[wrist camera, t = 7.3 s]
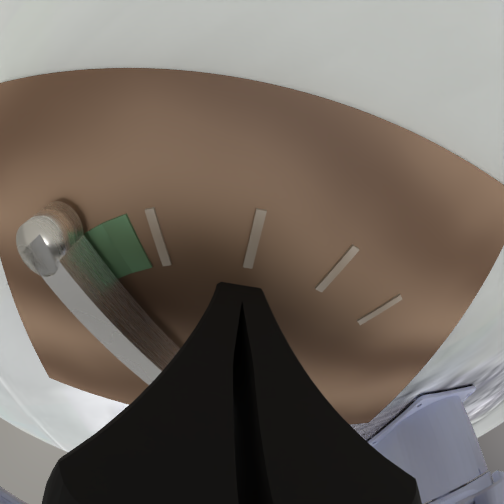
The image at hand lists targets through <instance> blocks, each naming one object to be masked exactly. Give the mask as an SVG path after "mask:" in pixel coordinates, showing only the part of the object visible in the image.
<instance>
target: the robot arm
mask: <svg viewBox="0 0 504 504" xmlns="http://www.w3.org/2000/svg"><path fill="white" fill-rule="evenodd" d="M475 390H476V387H475V386H474V385H473V386H469V387H465V388H460V389H455V390H450V391H445V392H439V393H433V394H427V395H423V396H421V397H419V398H418V399H417V400H416V401H415V402H414V403H413V404H411V405H410V406H409V407H408V408H407V409H406V410H405V411H404V412H403V413H402V414H401V415H399V416H398V417H397V418H396V419H395V420H394V421H392V422H391V423H390V424H389V425H388V426H387V427H385V428H384V429H383V430H382V431H380V432H379V433H378V434H377V435H375V436H374V437H373V438H372V439H370V440H369V441H368V442H367V441H365V440H364V439H363V438H362V437H361V436H360V435H359V434H358V433H357V432H356V431H355V430H354V429H353V428H352V427H351V426H350V425H349V424H348V423H347V422H346V421H345V420H344V419H343V418H342V416H341V415H340V414H339V413H338V412H337V411H336V410H335V409H334V408H333V406H332V405H331V404H330V403H329V402H328V400H327V399H326V398H325V397H324V396H323V394H322V393H321V392H320V390H319V389H318V388H317V386H316V385H315V384H314V382H313V381H312V380H311V378H310V377H309V375H308V374H307V372H306V371H305V370H304V368H303V366H302V365H301V363H300V362H299V360H298V359H297V357H296V355H295V354H294V352H293V350H292V349H291V347H290V345H289V344H288V342H287V340H286V338H285V336H284V334H283V333H282V331H281V329H280V327H279V325H278V323H277V321H276V319H275V317H274V315H273V313H272V311H271V308H270V306H269V304H268V302H267V299H266V297H265V294H264V292H263V290H262V289H261V288H257V287H250V286H244V285H238V284H232V283H226V282H220V283H218V284H217V285H216V289H215V292H214V295H213V297H212V299H211V301H210V303H209V305H208V307H207V309H206V311H205V312H204V314H203V316H202V317H201V319H200V321H199V322H198V324H197V326H196V327H195V329H194V330H193V332H192V333H191V335H190V336H189V337H188V339H187V340H186V342H185V343H184V344H183V346H182V347H181V348H180V350H179V351H178V352H177V354H176V355H175V356H174V358H173V359H172V360H171V361H170V362H169V364H168V365H167V366H166V367H165V368H164V370H163V371H162V372H161V373H160V374H159V375H158V376H157V377H156V379H155V380H154V381H153V382H152V383H151V384H150V385H149V386H148V387H147V388H146V389H145V390H144V391H143V392H142V393H141V394H140V395H139V396H138V397H137V398H136V399H135V400H134V401H133V402H132V403H131V404H130V405H129V406H128V407H126V408H125V409H124V410H123V411H122V412H121V413H119V414H118V415H117V416H116V417H115V418H114V419H112V420H111V421H110V422H109V423H108V424H107V425H105V426H104V427H103V428H102V429H101V430H99V431H98V432H97V433H95V434H94V435H93V436H91V437H90V438H89V439H87V440H86V441H84V442H83V443H81V444H80V445H79V446H77V447H76V448H74V449H73V450H71V451H70V452H68V453H67V454H66V455H64V456H63V457H61V458H60V459H59V460H58V462H57V464H56V465H55V467H54V469H53V470H52V473H51V475H50V477H49V479H48V481H47V484H46V488H45V492H44V496H43V501H42V504H423V503H426V502H428V501H430V500H432V501H431V502H429V503H427V504H504V472H502V471H500V472H499V471H498V470H497V471H495V472H493V473H492V476H493V480H494V483H493V480H492V476H491V473H490V471H488V472H487V473H485V474H484V475H482V476H480V477H478V478H477V479H475V480H473V481H471V482H469V481H470V480H472V479H474V478H476V477H477V476H479V475H481V474H482V473H484V472H485V471H487V470H488V469H487V466H486V462H485V459H484V457H483V454H482V451H481V448H480V445H479V442H478V440H477V437H476V435H475V432H474V429H473V427H472V424H471V422H470V420H469V417H468V415H467V412H466V410H465V408H464V405H463V402H464V401H465V400H466V399H467V398H468V397H469V396H470V395H471V394H472V393H473V392H474V391H475ZM467 482H469V483H468V484H467ZM0 504H27V503H26V502H24V501H22V500H20V499H19V498H17V497H16V496H14V495H12V494H11V493H9V492H8V491H6V490H5V489H3V488H2V487H0Z"/></svg>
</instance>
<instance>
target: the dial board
mask: <svg viewBox="0 0 504 504" xmlns="http://www.w3.org/2000/svg"><path fill="white" fill-rule="evenodd" d="M54 201H61V202H64V203H66V204H68V205H70V206H71V207H72V208H73V209H74V210H75V211H76V212H77V214H78V215H79V217H80V219H81V222H82V225H83V231H84V236H85V237H86V239H87V240H88V241H89V243H90V244H91V245H92V247H93V248H94V250H95V251H96V252H97V254H98V255H99V256H100V257H101V259H102V260H103V261H104V263H105V264H106V265H107V267H108V268H109V269H110V270H111V272H112V273H113V274H114V275H115V277H116V278H117V279H118V280H119V282H120V283H121V284H122V285H123V286H124V288H125V289H126V290H127V291H128V292H129V294H130V295H131V296H132V297H133V298H134V299H135V301H136V302H137V303H138V304H139V305H140V306H141V307H142V309H143V310H144V311H145V312H146V313H147V314H148V315H149V316H150V318H151V319H152V320H153V321H154V322H155V323H156V324H157V325H158V326H159V327H160V328H161V329H162V330H163V332H164V333H165V334H166V335H167V336H168V337H169V338H170V339H171V340H172V341H173V342H174V343H175V344H176V345H177V346H178V347H179V348H181V347H182V346H183V344H184V343H185V342H186V340H187V339H188V337H189V336H190V335H191V333H192V332H193V330H194V329H195V327H196V326H197V324H198V322H199V321H200V319H201V317H202V316H203V314H204V312H205V311H206V309H207V307H208V305H209V303H210V301H211V299H212V297H213V295H214V292H215V289H216V285H217V284H218V283H220V282H226V283H232V284H238V285H244V286H250V287H257V288H261V289H262V290H263V292H264V294H265V297H266V299H267V302H268V304H269V306H270V308H271V311H272V313H273V315H274V317H275V319H276V321H277V323H278V325H279V327H280V329H281V331H282V333H283V334H284V336H285V338H286V340H287V342H288V344H289V345H290V347H291V349H292V350H293V352H294V354H295V355H296V357H297V359H298V360H299V362H300V363H301V365H302V366H303V368H304V370H305V371H306V372H307V374H308V375H309V377H310V378H311V380H312V381H313V382H314V384H315V385H316V386H317V388H318V389H319V390H320V392H321V393H322V394H323V396H324V397H325V398H326V399H327V400H328V402H329V403H330V404H331V405H332V406H333V408H334V409H335V410H336V411H337V412H338V413H339V414H340V415H341V416H342V418H343V419H344V420H345V421H346V422H347V423H348V424H359V423H369V422H370V421H371V420H372V419H373V418H374V417H375V416H376V415H378V414H379V413H380V412H381V411H382V410H383V409H384V408H385V407H386V406H387V405H388V404H389V403H390V402H391V401H392V400H393V399H394V398H395V397H396V396H397V395H398V394H399V393H400V392H401V391H402V390H403V389H404V388H405V387H406V386H407V385H408V384H409V383H410V381H411V380H412V379H413V378H414V377H415V376H416V375H417V374H418V373H419V371H420V370H421V369H422V368H423V367H424V366H425V364H426V363H427V362H428V361H429V360H430V359H431V357H432V356H433V355H434V354H435V352H436V351H437V350H438V349H439V347H440V346H441V345H442V344H443V342H444V341H445V340H446V338H447V337H448V336H449V334H450V333H451V332H452V330H453V329H454V328H455V326H456V325H457V323H458V322H459V320H460V319H461V318H462V316H463V315H464V313H465V312H466V310H467V309H468V307H469V306H470V304H471V303H472V301H473V299H474V298H475V296H476V295H477V293H478V291H479V290H480V288H481V286H482V285H483V283H484V281H485V279H486V278H487V276H488V274H489V272H490V271H491V269H492V267H493V265H494V263H495V261H496V259H497V257H498V255H499V253H500V251H501V249H502V247H503V245H504V185H503V184H501V183H500V182H498V181H497V180H496V179H494V178H493V177H491V176H490V175H488V174H487V173H485V172H484V171H482V170H480V169H479V168H477V167H476V166H474V165H472V164H471V163H469V162H467V161H466V160H464V159H462V158H461V157H459V156H457V155H456V154H454V153H452V152H450V151H448V150H447V149H445V148H443V147H441V146H439V145H437V144H435V143H433V142H431V141H429V140H427V139H426V138H423V137H421V136H419V135H417V134H415V133H413V132H411V131H409V130H407V129H404V128H402V127H400V126H398V125H395V124H393V123H391V122H388V121H386V120H384V119H381V118H379V117H376V116H374V115H371V114H369V113H366V112H363V111H361V110H358V109H355V108H352V107H350V106H347V105H344V104H341V103H338V102H335V101H332V100H329V99H325V98H322V97H319V96H315V95H312V94H308V93H305V92H301V91H297V90H294V89H290V88H286V87H281V86H277V85H273V84H268V83H264V82H259V81H254V80H249V79H243V78H237V77H231V76H225V75H218V74H211V73H203V72H194V71H183V70H170V69H151V68H106V69H87V70H75V71H65V72H57V73H50V74H43V75H37V76H31V77H26V78H20V79H16V80H11V81H7V82H3V83H0V258H1V261H2V265H3V268H4V272H5V275H6V278H7V281H8V284H9V287H10V290H11V293H12V296H13V299H14V302H15V304H16V307H17V310H18V312H19V315H20V317H21V320H22V322H23V325H24V327H25V329H26V331H27V334H28V336H29V338H30V340H31V343H32V345H33V347H34V349H35V351H36V353H37V355H38V357H39V359H40V361H41V363H42V365H43V367H44V368H45V370H46V372H47V374H48V376H49V377H50V378H52V379H54V380H57V381H59V382H62V383H64V384H67V385H69V386H72V387H75V388H78V389H80V390H83V391H86V392H89V393H92V394H95V395H98V396H102V397H105V398H108V399H111V400H115V401H118V402H122V403H126V404H129V405H130V404H131V403H132V402H133V401H134V400H135V399H136V398H137V397H138V396H139V395H140V394H141V393H142V392H143V391H144V390H145V389H146V388H147V387H148V386H149V385H148V384H147V383H146V382H144V381H143V380H142V379H141V378H140V377H138V376H137V375H136V374H135V373H134V372H132V371H131V370H130V369H129V368H128V367H127V366H126V365H124V364H123V363H122V362H121V361H120V360H119V359H118V358H117V357H116V356H114V355H113V354H112V353H111V352H110V351H109V350H108V349H107V348H106V347H105V346H104V345H103V344H102V343H101V342H100V341H99V340H98V339H97V338H96V337H95V336H94V335H93V334H92V333H91V332H90V331H89V330H88V329H87V328H86V327H85V326H84V325H83V324H82V323H81V322H80V321H79V320H78V319H77V318H76V317H75V316H74V314H73V313H72V312H71V311H70V310H69V309H68V308H67V307H66V306H65V304H64V303H63V302H62V301H61V300H60V299H59V297H58V296H57V295H56V294H55V293H54V292H53V290H52V289H51V288H50V287H49V285H48V284H47V283H46V282H45V280H44V279H43V278H42V277H41V275H38V274H36V273H35V272H33V271H32V270H31V269H30V268H29V267H28V266H27V265H26V264H25V263H24V261H23V260H22V258H21V256H20V254H19V252H18V249H17V244H16V234H17V231H18V229H19V227H20V226H21V225H22V224H24V223H25V222H26V221H27V220H29V219H30V218H31V217H33V216H34V215H35V214H36V213H38V212H39V211H40V210H42V209H43V208H44V207H46V206H47V205H49V204H50V203H52V202H54Z"/></svg>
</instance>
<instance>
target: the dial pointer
mask: <svg viewBox="0 0 504 504" xmlns="http://www.w3.org/2000/svg"><path fill="white" fill-rule="evenodd" d="M16 244H17V249H18V252H19V254H20V256H21V258H22V260H23V261H24V263H25V264H26V265H27V266H28V267H29V268H30V269H31V270H32V271H33V272H35V273H36V274H38V275H41V277H42V278H43V279H44V280H45V282H46V283H47V284H48V285H49V287H50V288H51V289H52V290H53V292H54V293H55V294H56V295H57V296H58V297H59V299H60V300H61V301H62V302H63V303H64V304H65V306H66V307H67V308H68V309H69V310H70V311H71V312H72V313H73V314H74V316H75V317H76V318H77V319H78V320H79V321H80V322H81V323H82V324H83V325H84V326H85V327H86V328H87V329H88V330H89V331H90V332H91V333H92V334H93V335H94V336H95V337H96V338H97V339H98V340H99V341H100V342H101V343H102V344H103V345H104V346H105V347H106V348H107V349H108V350H109V351H110V352H111V353H112V354H113V355H114V356H116V357H117V358H118V359H119V360H120V361H121V362H122V363H123V364H124V365H126V366H127V367H128V368H129V369H130V370H131V371H132V372H134V373H135V374H136V375H137V376H138V377H140V378H141V379H142V380H143V381H144V382H146V383H147V384H148V385H150V384H151V383H152V382H153V381H154V380H155V379H156V377H157V376H158V375H159V374H160V373H161V372H162V371H163V370H164V368H165V367H166V366H167V365H168V364H169V362H170V361H171V360H172V359H173V358H174V356H175V355H176V354H177V352H178V351H179V350H180V348H179V347H178V346H177V345H176V344H175V343H174V342H173V341H172V340H171V339H170V338H169V337H168V336H167V335H166V334H165V333H164V332H163V330H162V329H161V328H160V327H159V326H158V325H157V324H156V323H155V322H154V321H153V320H152V319H151V318H150V316H149V315H148V314H147V313H146V312H145V311H144V310H143V309H142V307H141V306H140V305H139V304H138V303H137V302H136V301H135V299H134V298H133V297H132V296H131V295H130V294H129V292H128V291H127V290H126V289H125V288H124V286H123V285H122V284H121V283H120V282H119V280H118V279H117V278H116V277H115V275H114V274H113V273H112V272H111V270H110V269H109V268H108V267H107V265H106V264H105V263H104V261H103V260H102V259H101V257H100V256H99V255H98V254H97V252H96V251H95V250H94V248H93V247H92V245H91V244H90V243H89V241H88V240H87V239H86V237H85V236H84V231H83V225H82V222H81V219H80V217H79V215H78V214H77V212H76V211H75V210H74V209H73V208H72V207H71V206H70V205H68V204H66V203H64V202H61V201H54V202H52V203H50V204H49V205H47V206H46V207H44V208H43V209H42V210H40V211H39V212H38V213H36V214H35V215H34V216H33V217H31V218H30V219H29V220H27V221H26V222H25V223H24V224H22V225H21V226H20V227H19V229H18V231H17V234H16Z"/></svg>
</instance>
